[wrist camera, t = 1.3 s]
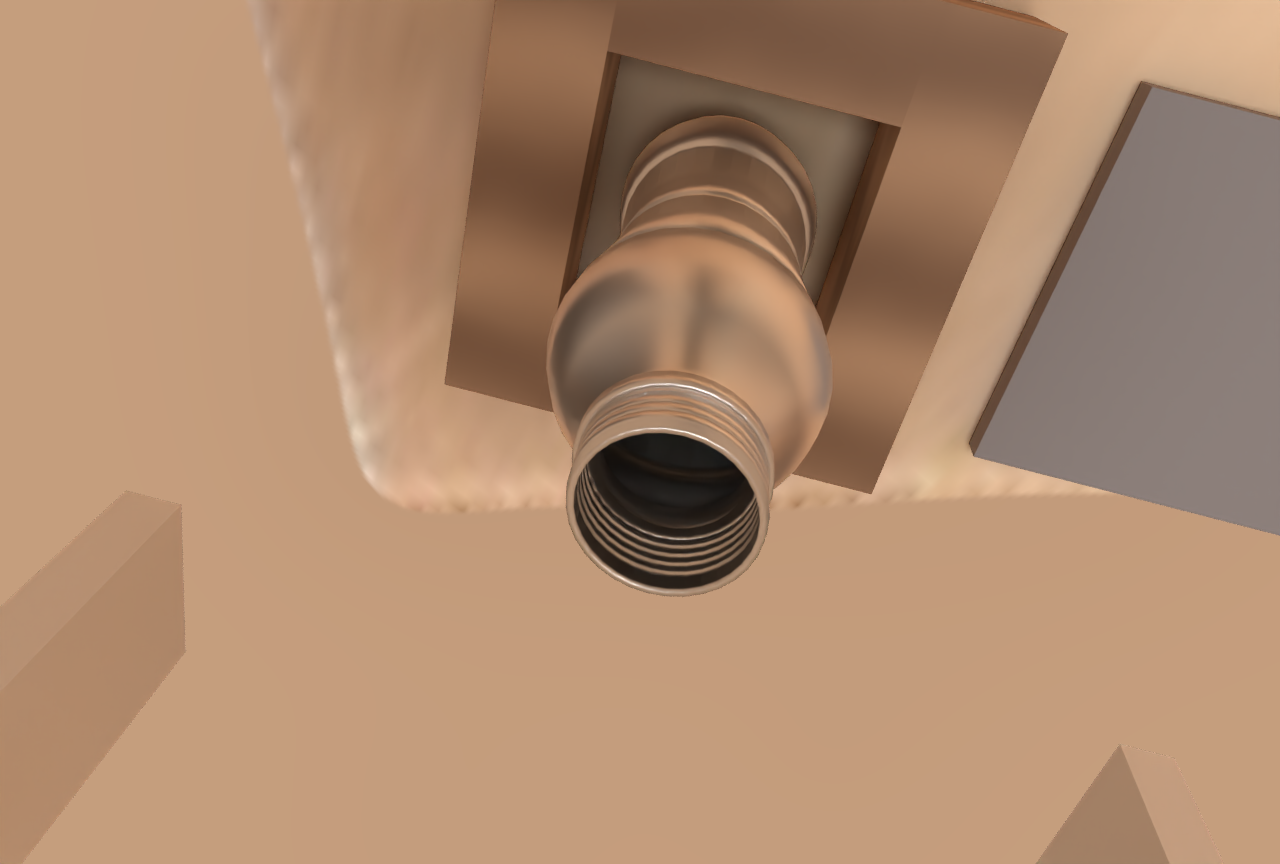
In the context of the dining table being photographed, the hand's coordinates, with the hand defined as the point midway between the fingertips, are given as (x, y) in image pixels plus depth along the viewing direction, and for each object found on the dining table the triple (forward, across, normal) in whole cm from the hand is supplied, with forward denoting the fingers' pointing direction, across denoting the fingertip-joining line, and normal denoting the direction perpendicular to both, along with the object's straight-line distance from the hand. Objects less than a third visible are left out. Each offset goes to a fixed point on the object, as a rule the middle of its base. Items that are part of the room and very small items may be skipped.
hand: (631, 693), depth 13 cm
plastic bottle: (+24, 0, 0) cm, 24 cm away
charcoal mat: (+24, +19, 0) cm, 31 cm away
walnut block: (+24, 0, 0) cm, 24 cm away
